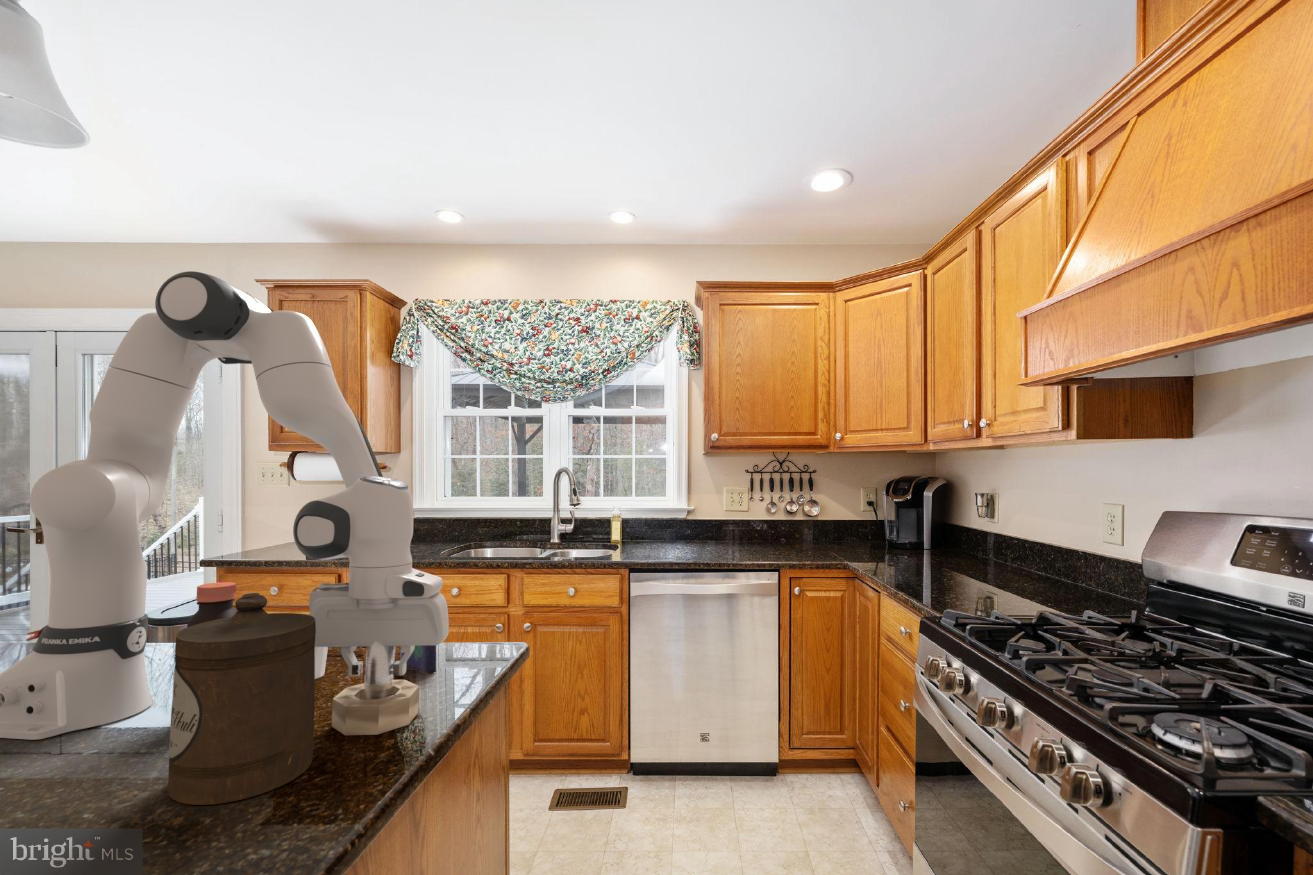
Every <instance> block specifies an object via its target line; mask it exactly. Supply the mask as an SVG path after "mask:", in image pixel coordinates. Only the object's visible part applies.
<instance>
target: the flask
mask: <svg viewBox="0 0 1313 875" xmlns="http://www.w3.org/2000/svg"><path fill="white" fill-rule="evenodd" d="M404 654H405V652H404V653H401V650H400V654H399V661H400V660H401V659H402V657H403V655H404ZM407 669H408V670H409V669H411V670H410V671H412V670H416V672H417V671H419V672H420V673H421V674H425V675H432V674H435V673H437V645H419V646H415V649H414V650H413V652H412V654H411V655H410V657H409V659H408V660H407V663H406V670H407ZM434 672H435V673H434Z"/></svg>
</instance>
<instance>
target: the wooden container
mask: <svg viewBox="0 0 1313 875" xmlns="http://www.w3.org/2000/svg"><path fill="white" fill-rule="evenodd" d="M267 604H268V598H267V597H266V596H264V595H263V594H262V595H261V594H260V593H259V592H250V593H245V594H243V595H242V596H241V597H238V598H237V599H235V609H236V610H237V612H236V613H235V614H234V616H233V617H230V618H224V619H218V620H213V621H208V622H204V623H200V624H196V625H193V626H190V627H187V626H186V627H185V628H183V629H181V630H180V631H178V632H177V634H176V636H175V646H174V659H175V660H174V662H175V664H174V674H173V685H172V686H173V687H172V688H173V689H172V704H171V711H170V712H171V713H170V727H169V729H170V730H169V750H168V751H169V753H168V754H169V755H168V761H169V762H168V782H167V792H168V796H169V797H170V798H171V799H172V800H173V801H175V802H178V803H180V804H184V805H192V806H193V805H194V806H210V805H218V804H220V805H222V804H226V803H232V802H237V801H242V800H246V799H250V798H253V797H256V796H260V795H263V794H266V793H268V792H270V791H273V790H275V789H278V788H280V787H282V786H284V785H287V784H288V783H290V782H292V781H294V780H295V779H297V778H298V777H300V776H301V775H302V774H304V773H305V771H307V770H308V769H309V768H310V766H311V765H312V762H313V759H314V741H315V740H314V731H315V703H316V702H315V701H316V699H315V698H316V692H315V691H316V690H315V689H316V688H315V684H316V682H315V680H316V679H315V635H316V624H315V618H314V617H313V616H310V615H309V614H304V613H294V612H293V613H292V612H291V613H290V612H289V613H287V612H285V613H284V612H277V613H275V612H271V613H268V612H267V611H266V610H265V609H264V608H265V607H266V606H267Z"/></svg>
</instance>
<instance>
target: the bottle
mask: <svg viewBox="0 0 1313 875" xmlns="http://www.w3.org/2000/svg"><path fill="white" fill-rule="evenodd" d="M195 597H196V598H195V600H196V605H197V606H198V610H197V611H196V612H195V613H194V614H193V615H192V616H191V617H190V618H189V619H188V621H187V623H186V625H187V626H186V628H187V627H190V626H193V625H196V624H200V623H204V622H208V621H213V620H218V619H224V618H230V617H233V616H234V614H235V613H236V612H237V611H238V610H237V609H236V607H235V606H234V602H236V597H237V582H232V581H226V582H225V581H221V582H220V581H219V582H211V583H204V584H203V583H202V584H200V585H198V586H196V596H195Z"/></svg>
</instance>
